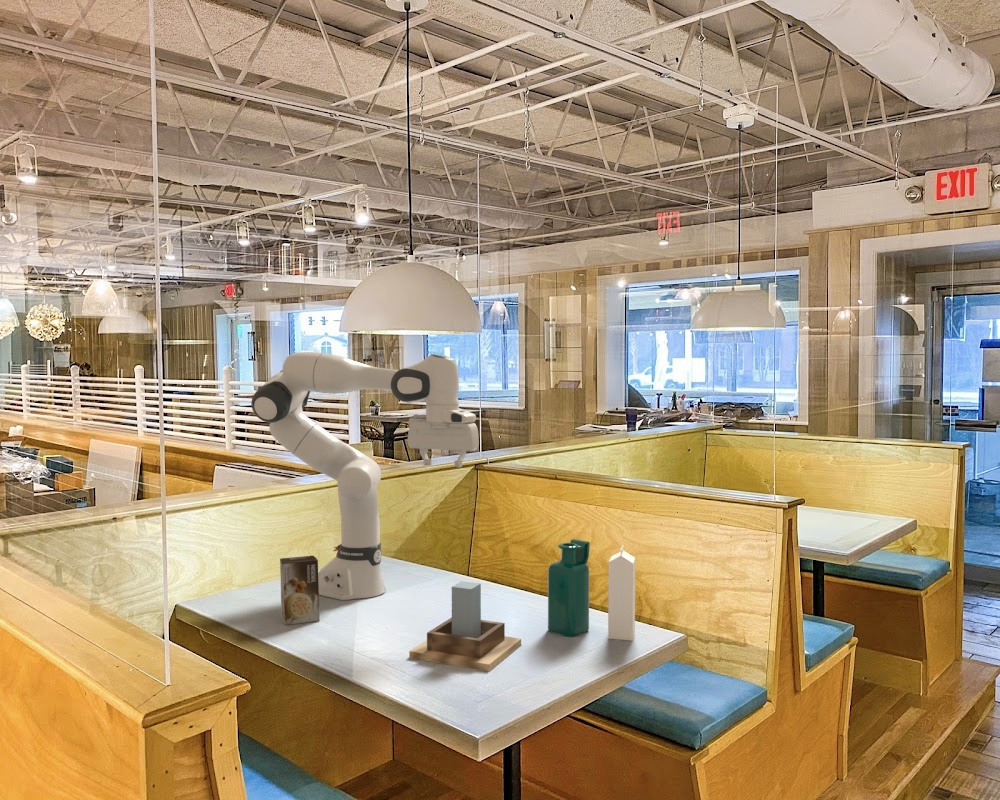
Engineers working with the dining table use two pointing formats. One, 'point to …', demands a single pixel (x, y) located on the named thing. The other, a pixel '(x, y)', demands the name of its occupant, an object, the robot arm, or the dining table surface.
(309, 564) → the coffee box
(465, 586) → the grey block
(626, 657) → the dining table surface
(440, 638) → the caddy
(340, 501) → the robot arm
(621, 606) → the milk
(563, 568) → the green tall squared bottle
